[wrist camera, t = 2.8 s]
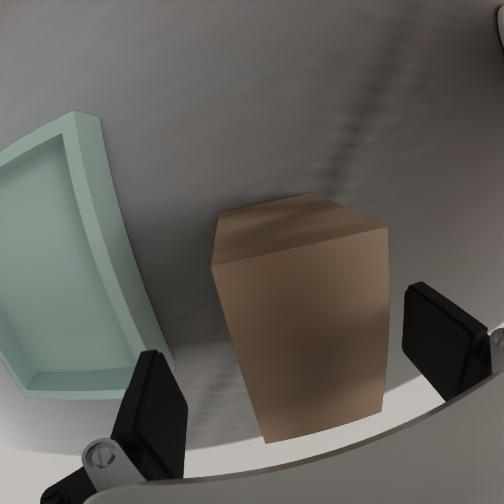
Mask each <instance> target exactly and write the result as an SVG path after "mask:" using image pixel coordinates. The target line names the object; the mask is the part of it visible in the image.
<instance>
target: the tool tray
mask: <svg viewBox="0 0 504 504" xmlns="http://www.w3.org/2000/svg"><path fill="white" fill-rule="evenodd" d="M154 349H156V350H157V351H158V352H162V353H163V354H164V356H165V358H166V361H167V363H168V365H169V367H170V369H171V372H172V374H174V370H175V365H176V364H175V361H174V359H173V357H172V355H171V352H170V350H169V348H168V345H167V343H166V341H165V338H164V336H163V333H162V331H161V328H160V326H159V324H158V321H157V319H156V316H155V313H154V311H153V308H152V306H151V303H150V300H149V298H148V295H147V292H146V289H145V287H144V284H143V281H142V278H141V275H140V272H139V270H138V267H137V264H136V261H135V258H134V254H133V251H132V248H131V245H130V242H129V239H128V235H127V232H126V229H125V225H124V222H123V218H122V215H121V211H120V208H119V204H118V200H117V196H116V192H115V189H114V185H113V180H112V176H111V172H110V168H109V163H108V159H107V154H106V150H105V145H104V140H103V135H102V129H101V124H100V118H99V117H97V116H93V115H89V114H85V113H82V112H78V111H74V110H73V111H71V112H69V113H67V114H65V115H63V116H61V117H59V118H57V119H55V120H53V121H51V122H49V123H47V124H45V125H44V126H42V127H40V128H38V129H36V130H34V131H33V132H31V133H29V134H28V135H26V136H24V137H22V138H21V139H19V140H17V141H16V142H14V143H13V144H11V145H9V146H8V147H6V148H5V149H3V150H2V151H0V359H1V361H2V363H3V364H4V366H5V368H6V369H7V371H8V372H9V374H10V375H11V377H12V379H13V380H14V382H15V383H16V385H17V386H18V388H19V389H20V391H21V392H22V393H23V395H24V396H25V398H39V399H60V400H108V399H123V397H124V394H125V391H126V389H127V388H128V386H129V383H130V381H131V378H132V375H133V372H134V369H135V366H136V364H137V361H138V358H139V355H140V353H141V352H142V351H147V350H154Z"/></svg>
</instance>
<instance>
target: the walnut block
mask: <svg viewBox="0 0 504 504" xmlns="http://www.w3.org/2000/svg"><path fill="white" fill-rule="evenodd" d="M211 270H212V274H213V277H214V281H215V284H216V288H217V291H218V295H219V299H220V302H221V306H222V309H223V312H224V316H225V319H226V323H227V326H228V329H229V333H230V336H231V339H232V343H233V346H234V349H235V352H236V356H237V359H238V362H239V365H240V369H241V372H242V375H243V378H244V381H245V384H246V387H247V390H248V393H249V396H250V400H251V403H252V406H253V409H254V412H255V414H256V417H257V420H258V423H259V426H260V429H261V432H262V435H263V438H264V440H265V443H266V444H268V443H273V442H278V441H283V440H287V439H292V438H296V437H301V436H305V435H309V434H313V433H316V432H320V431H324V430H327V429H331V428H334V427H338V426H341V425H344V424H347V423H350V422H353V421H357V420H359V419H362V418H365V417H368V416H371V415H374V414H376V413H379V412H381V410H382V402H383V395H384V386H385V377H386V366H387V353H388V337H389V309H390V273H389V245H388V229H387V226H385V225H383V224H380V223H378V222H376V221H374V220H372V219H370V218H368V217H366V216H364V215H361V214H359V213H357V212H355V211H353V210H350V209H348V208H346V207H344V206H342V205H339V204H337V203H335V202H333V201H330V200H328V199H326V198H323V197H321V196H319V195H316V194H314V193H309V194H304V195H299V196H294V197H289V198H284V199H279V200H274V201H269V202H265V203H260V204H255V205H251V206H246V207H242V208H237V209H233V210H228V211H224V212H219V218H218V224H217V230H216V236H215V242H214V248H213V254H212V261H211Z"/></svg>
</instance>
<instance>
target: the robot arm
mask: <svg viewBox="0 0 504 504" xmlns="http://www.w3.org/2000/svg"><path fill="white" fill-rule="evenodd" d="M498 27H499V33H500V37H501V42H502V45H503V48H504V5H503V6H502V7H501V8H500V9H499V12H498ZM487 331H488V328H487V327H486V326H484V325H483V324H482V323H480V322H479V321H478V320H476V319H475V318H474V317H472V316H471V315H470V314H468V313H467V312H465V311H464V310H463V309H461V308H460V307H458V306H457V305H456V304H454V303H453V302H451V301H450V300H449V299H447V298H446V297H444V296H443V295H441V294H440V293H438V292H437V291H436V290H434V289H433V288H431V287H430V286H428V285H427V284H425V283H424V282H418V283H415V284H412V285H409V286H408V288H407V290H406V291H405V296H404V321H403V337H402V349H403V352H404V353H405V355H406V356H407V357H408V358H409V359H410V360H411V362H412V363H413V364H414V365H415V366H416V367H417V368H418V370H419V371H420V372H421V373H422V374H423V375H424V377H425V378H426V379H427V380H428V381H429V382H430V384H431V385H432V386H433V387H434V388H435V389H436V391H437V392H438V393H439V394H440V396H441V397H442V398H443V399H444V400H445V401H446V402H445V403H444V404H442V405H440V406H438V407H436V408H434V409H432V410H431V411H429V412H427V413H425V414H423V415H421V416H418V417H416V418H415V419H412V420H410V421H408V422H406V423H404V424H401V425H399V426H397V427H395V428H392V429H390V430H388V431H385V432H383V433H380V434H378V435H375V436H373V437H370V438H368V439H365V440H362V441H360V442H357V443H354V444H351V445H348V446H346V447H343V448H339V449H336V450H333V451H330V452H327V453H323V454H320V455H316V456H313V457H309V458H305V459H302V460H298V461H294V462H290V463H286V464H281V465H277V466H271V467H266V468H261V469H256V470H250V471H244V472H238V473H230V474H224V475H215V476H206V477H197V478H183V475H184V458H185V444H186V430H187V418H188V406H187V402H186V400H185V398H184V396H183V394H182V392H181V390H180V388H179V386H178V384H177V382H176V380H175V378H174V376H173V374H172V372H171V369H170V367H169V365H168V363H167V361H166V358H165V356H164V354H163V353H162V352H158V351H157V350H156V349H154V350H147V351H142V352H141V353H140V355H139V358H138V361H137V364H136V366H135V369H134V372H133V375H132V378H131V381H130V383H129V386H128V388H127V389H126V391H125V394H124V397H123V400H122V403H121V406H120V409H119V412H118V415H117V418H116V421H115V424H114V428H113V431H112V434H111V437H110V439H108V438H102V439H98V440H95V441H93V442H92V443H90V444H89V445H88V446H87V447H86V448H85V449H84V451H83V454H82V463H83V467H81V468H80V469H78V470H77V471H75V472H74V473H72V474H71V475H69V476H67V477H65V478H64V479H62V480H61V481H59V482H57V483H56V484H54V485H52V486H51V487H49V488H48V489H46V490H45V492H44V493H43V494H42V496H41V499H40V504H504V328H499V329H496V330H494V331H493V332H492V333H491V335H490V336H489V335H488V334H487Z"/></svg>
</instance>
